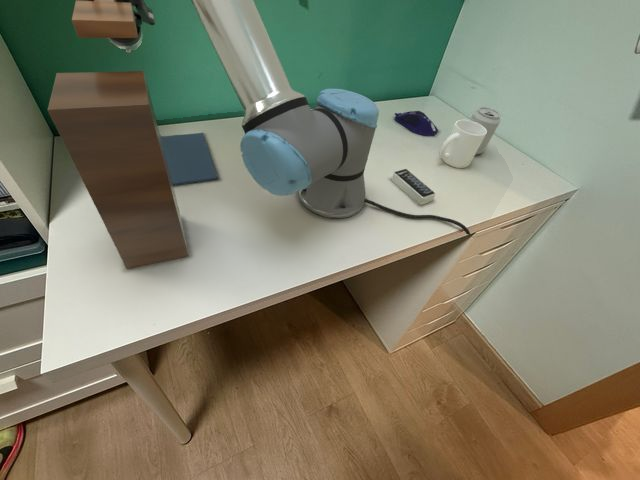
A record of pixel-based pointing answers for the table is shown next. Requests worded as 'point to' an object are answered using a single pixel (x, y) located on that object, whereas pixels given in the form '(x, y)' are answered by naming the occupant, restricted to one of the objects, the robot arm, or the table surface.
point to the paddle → (104, 19)
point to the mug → (462, 143)
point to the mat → (188, 158)
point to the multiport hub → (413, 186)
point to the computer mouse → (417, 122)
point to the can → (486, 124)
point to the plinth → (121, 161)
